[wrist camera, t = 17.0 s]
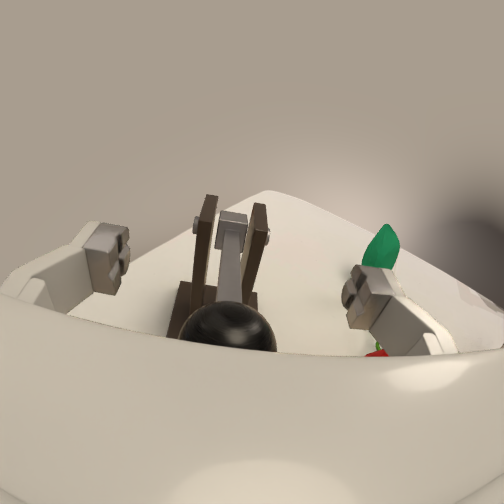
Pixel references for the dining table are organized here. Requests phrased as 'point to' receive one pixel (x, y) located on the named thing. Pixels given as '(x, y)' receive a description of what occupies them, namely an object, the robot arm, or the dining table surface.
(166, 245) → the dining table surface
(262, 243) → the bracket
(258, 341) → the lever
